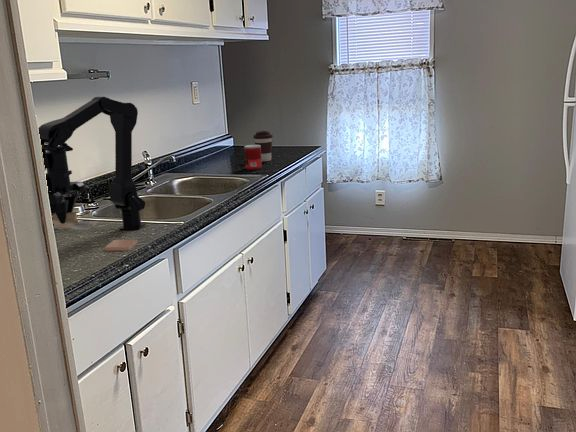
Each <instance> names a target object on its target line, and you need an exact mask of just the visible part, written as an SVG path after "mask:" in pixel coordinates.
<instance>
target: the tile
mask: <svg viewBox="0 0 576 432" xmlns="http://www.w3.org/2000/svg"><path fill="white" fill-rule="evenodd" d="M137 244H138V239H113V240H111V242H110V243H108V244H107V245H106V246H105V247H104V249H105V251H107V252H110V251H113V252H114V251H130V250H131V249H132V248H134V247H135V246H136V245H137Z"/></svg>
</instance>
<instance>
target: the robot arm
mask: <svg viewBox="0 0 576 432" xmlns="http://www.w3.org/2000/svg"><path fill="white" fill-rule="evenodd" d="M138 112H139V111H138V108H137V106H136V105H135V104H134V103H132V102H122V101H119V100H114V99H111V98H109V97H106V96H94V97H93V98H92V99H91V100H89V101H88V102H86V103H85V104H83V105H81V106H80V107H78V108H76V109H75V110H73V111H72V112H70V113H68V114H67V115H65V116H63V117H62V118H58V119H55V120H52V121H48V122H45V123H43V124H41V125H40V126H39V127H38V129H39V134H40V139H41V145H42V152H43V158H44V165H45V171H46V173H45V174H46V180H47V186H48V193H49V199H50V205H51V206H50V207H51V209H52V210H53V211H54V214H55V213H56V215H57V217H58V219H59V221H60V223H61V224H63V223H65V220H66V214H67V213H68V212H73V211H74V208H75V205H76V202H77V200H78V198H79V197H80V196H79V194H75V193H74V192H79V193H83V192H85V191H86V186H85V183H84V182H82V181H71V178H70V175H72V174H73V170H69V165H68V157H67V152H72V151H73V150H74V148H73V147H71V146H70V145H69V144H67V141H68V140H69V139H70V138H71V137H72V136H73V134H74V132H75V131H76V130H78V129H79V128H81V126H83V125H85V124H87V122H89V121H90V120H93V119H94V118H95V117H97V116H99V115H101V113H102V114H104V115H107V116H108V117H109V119H110V123H111V126H112V128H113V130H114V134H115V135H114V137H115V150H114V151H115V153H114V154H115V159H114V160H115V163H114V164H115V166H114V167H115V177H114V179H113V181H112V182H109V183H108V194H107V196H109V200H110V202H111V203H112V204H113V205H114V207H115V209H116V210H120V211H121V220H122V225H121V226H120V227H119V228H118V229H119V231H121V230H122V231H123V230H124V231H127V230H128V231H129V230H135V231H137V230H140V229H141V228H143V226H145V225H146V223H145V222H142V218H141V210H144V209H145V207H146V201H144V199H142V198H141V197H140V196H139V195H138V190H137V189H138V188H137V186H136V183H135V182H134V180H133V174H132V173H133V172H132V171H133V170H132V169H133V168H132V167H133V166H132V164H133V163H132V161H133V160H132V159H133V158H132V157H133V154H132V153H133V151H132V150H133V148H132V147H133V145H132V144H133V142H132V140H133V137H132V136H133V135H132V134H133V130H134V128H135V127H136V125H137V122H138V121H137V120H138V114H139V113H138Z"/></svg>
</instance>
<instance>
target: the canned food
mask: <svg viewBox="0 0 576 432" xmlns="http://www.w3.org/2000/svg"><path fill="white" fill-rule="evenodd" d="M243 149H244V150H243V151H244V165H245V169H246V170H250V171H251V170H252V171H253V170H255V171H256V170H260V169H262V165H263V164H262V163H263V162H262V161H261V146H260V145H255V144H248V145H244V147H243Z"/></svg>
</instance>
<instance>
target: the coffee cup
mask: <svg viewBox="0 0 576 432" xmlns="http://www.w3.org/2000/svg"><path fill="white" fill-rule="evenodd" d="M272 138H273V134H272V133H271V132H270V131H268V130H262V131H260V130H259V131H256V132H255V134H253V138H252V139H254V145H260V146H261V161H262V163H263V162H271V161H272V150H273V140H272Z"/></svg>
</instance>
